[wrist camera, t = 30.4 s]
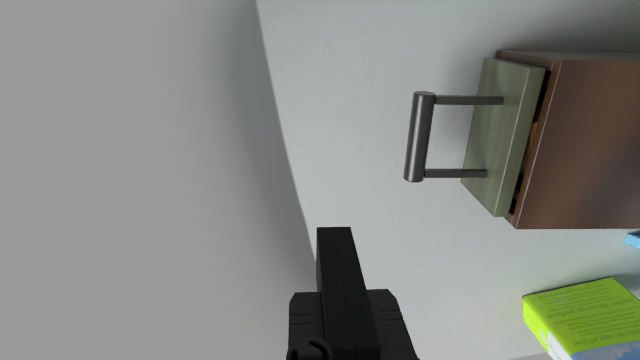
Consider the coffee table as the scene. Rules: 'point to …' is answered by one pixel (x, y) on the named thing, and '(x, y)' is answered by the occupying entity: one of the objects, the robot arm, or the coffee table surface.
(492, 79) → the drawer
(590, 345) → the box
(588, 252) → the coffee table surface
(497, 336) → the coffee table surface
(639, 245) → the blue doll chair
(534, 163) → the cabinet
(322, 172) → the coffee table surface
